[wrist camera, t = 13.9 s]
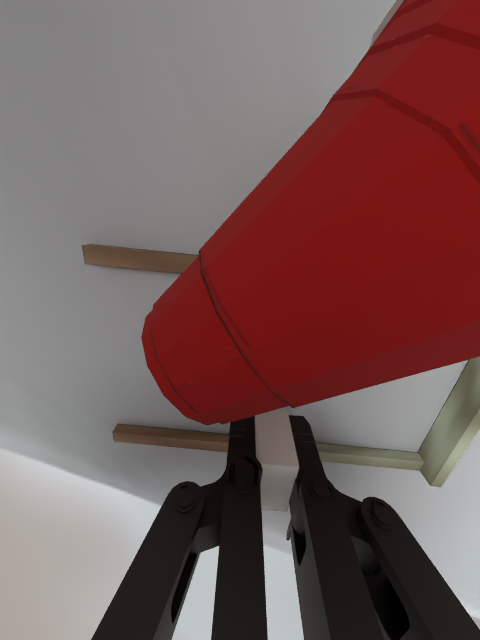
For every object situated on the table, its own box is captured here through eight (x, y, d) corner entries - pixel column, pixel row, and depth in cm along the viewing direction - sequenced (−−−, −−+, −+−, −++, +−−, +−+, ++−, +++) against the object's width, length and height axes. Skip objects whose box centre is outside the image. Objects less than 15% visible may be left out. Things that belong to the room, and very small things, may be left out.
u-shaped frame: (90, 244, 14) (66, 247, 12) (523, 287, 14) (567, 297, 12) (119, 432, 19) (105, 455, 17) (422, 461, 19) (440, 487, 18)
